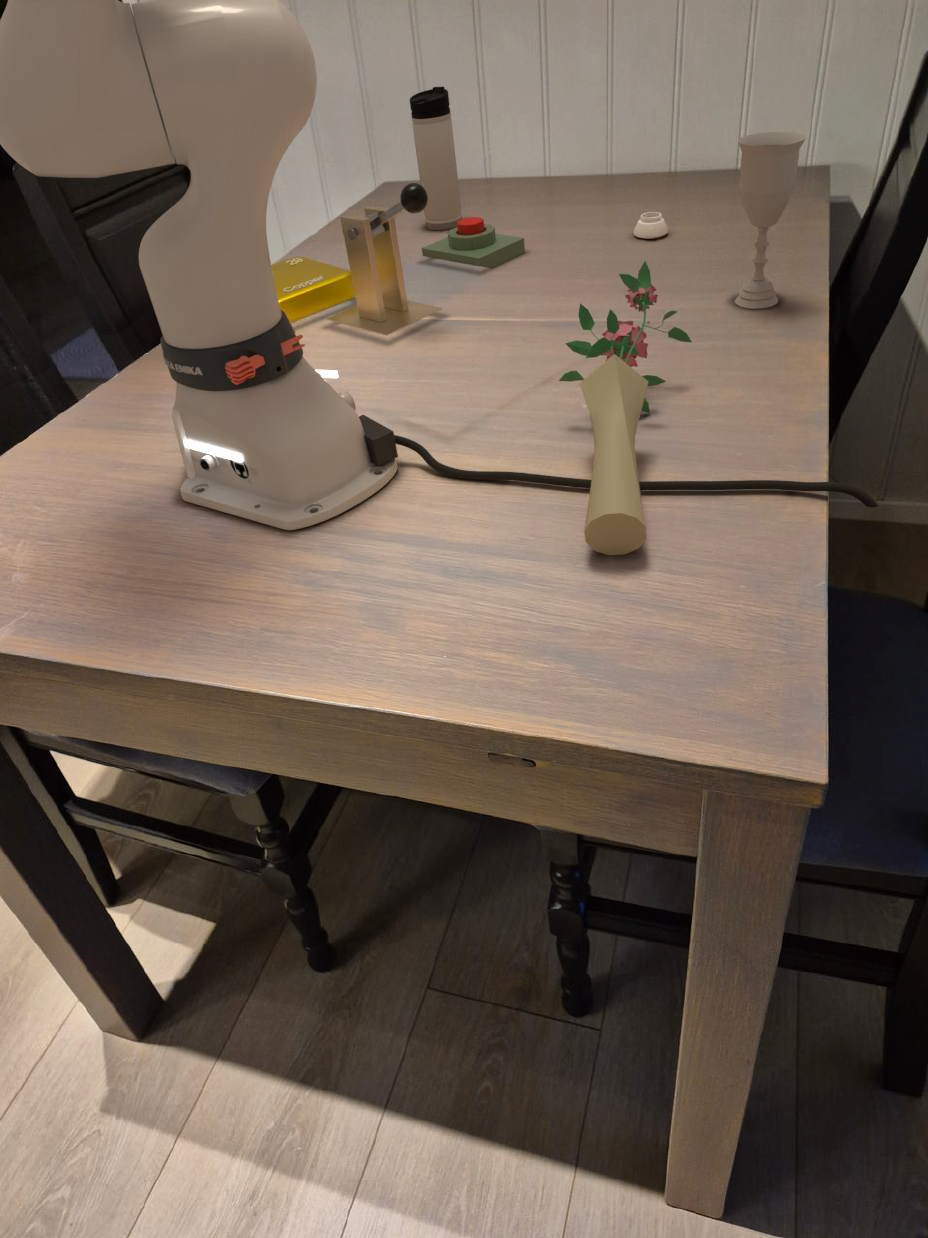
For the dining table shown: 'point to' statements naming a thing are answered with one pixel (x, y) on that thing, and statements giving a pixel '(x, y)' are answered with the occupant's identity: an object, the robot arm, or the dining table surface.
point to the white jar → (650, 226)
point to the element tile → (310, 286)
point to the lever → (400, 207)
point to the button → (470, 226)
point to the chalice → (766, 199)
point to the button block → (476, 248)
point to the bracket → (377, 278)
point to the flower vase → (617, 420)
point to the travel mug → (436, 157)
